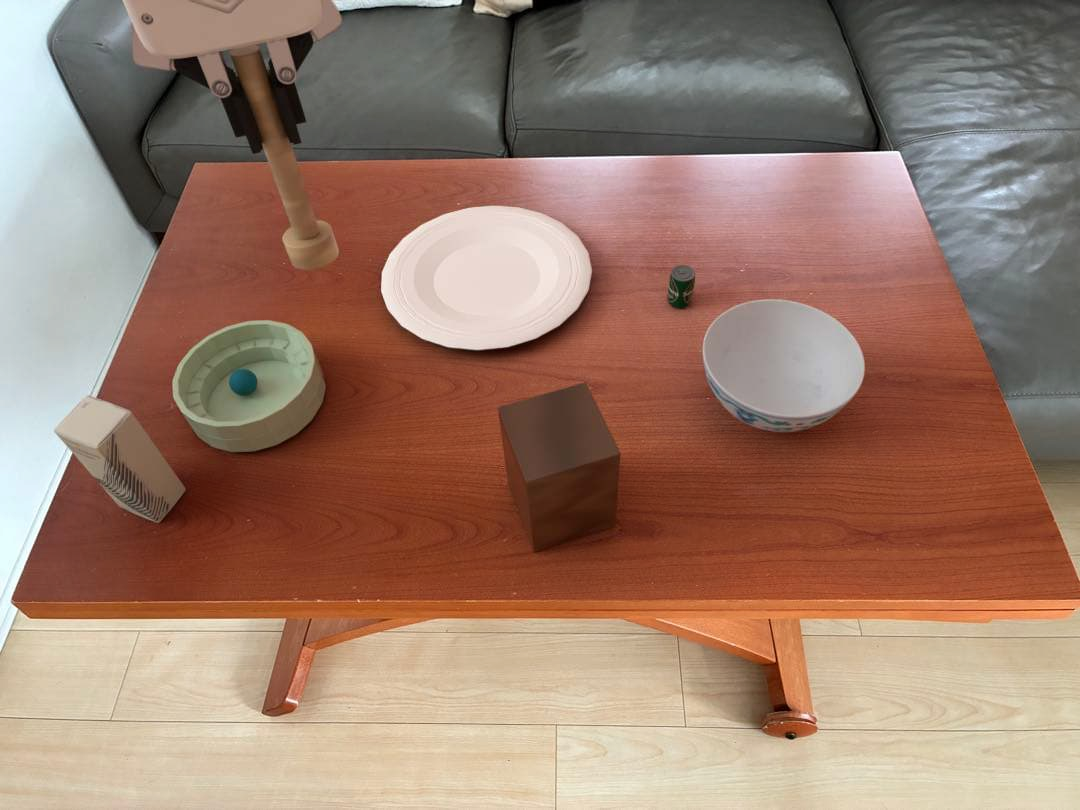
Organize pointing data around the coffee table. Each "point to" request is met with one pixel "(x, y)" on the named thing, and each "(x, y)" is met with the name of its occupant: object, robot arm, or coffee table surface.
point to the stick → (284, 166)
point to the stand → (560, 465)
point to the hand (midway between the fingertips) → (274, 136)
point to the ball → (243, 382)
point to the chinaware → (781, 364)
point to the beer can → (681, 286)
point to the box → (121, 457)
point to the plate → (486, 278)
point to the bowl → (275, 404)
